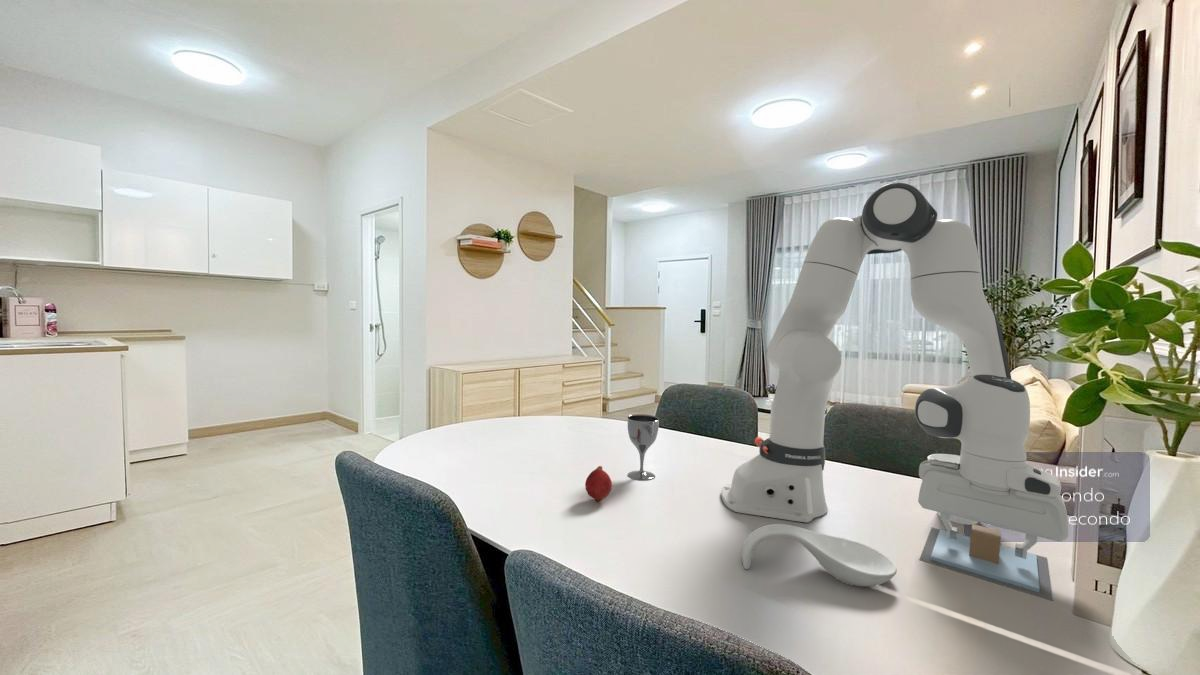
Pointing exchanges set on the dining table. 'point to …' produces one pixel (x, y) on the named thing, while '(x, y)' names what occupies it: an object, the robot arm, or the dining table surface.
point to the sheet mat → (1042, 575)
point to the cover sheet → (986, 568)
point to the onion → (598, 484)
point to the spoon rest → (829, 554)
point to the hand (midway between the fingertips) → (984, 546)
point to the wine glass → (642, 440)
